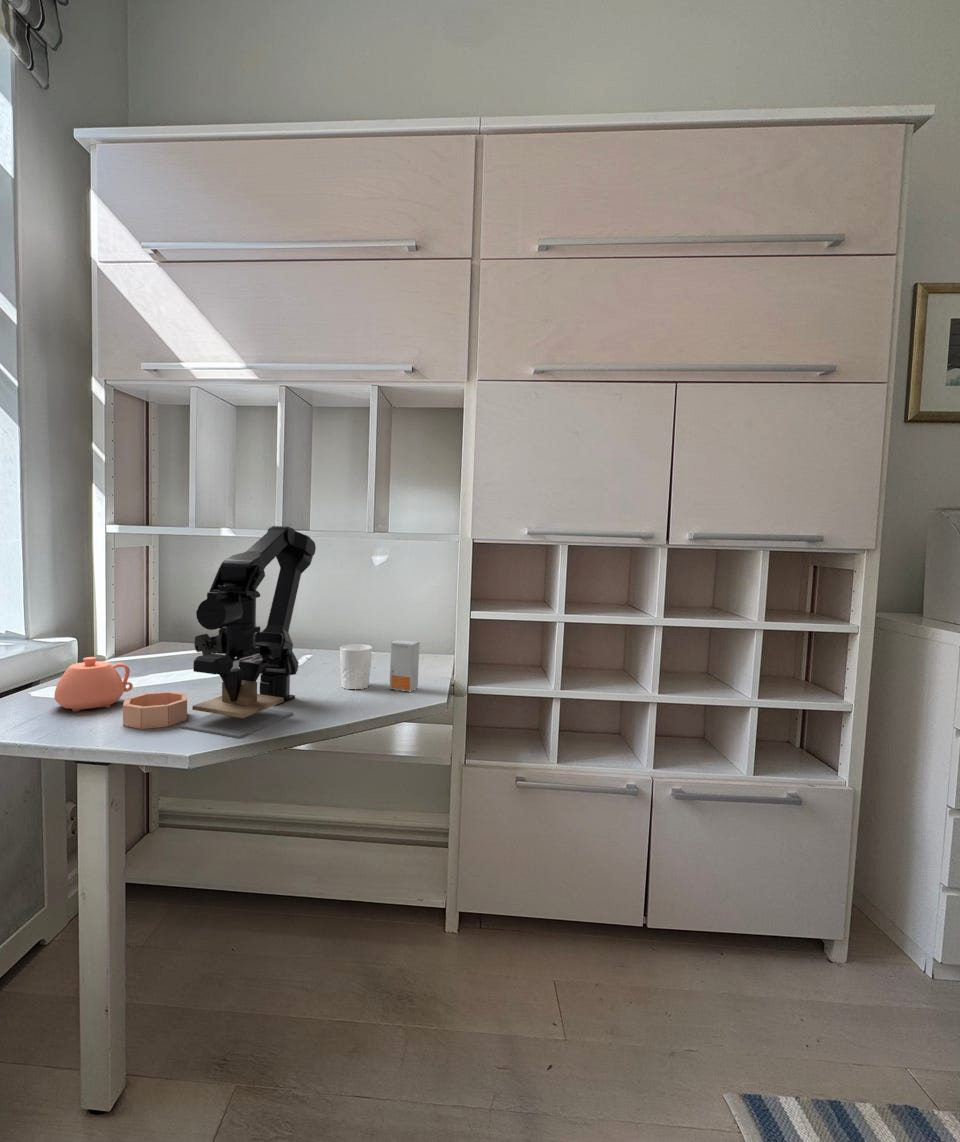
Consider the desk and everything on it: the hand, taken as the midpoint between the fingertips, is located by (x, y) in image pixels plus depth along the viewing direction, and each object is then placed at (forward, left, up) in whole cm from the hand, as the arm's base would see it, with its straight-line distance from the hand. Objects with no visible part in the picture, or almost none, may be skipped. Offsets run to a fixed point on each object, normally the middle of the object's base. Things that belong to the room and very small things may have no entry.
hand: (239, 699), depth 118 cm
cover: (0, 0, -1) cm, 1 cm away
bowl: (+6, -15, -4) cm, 17 cm away
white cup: (-33, +7, -5) cm, 34 cm away
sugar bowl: (+4, -34, -5) cm, 35 cm away
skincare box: (-36, +19, -5) cm, 41 cm away
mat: (0, 0, -4) cm, 4 cm away
